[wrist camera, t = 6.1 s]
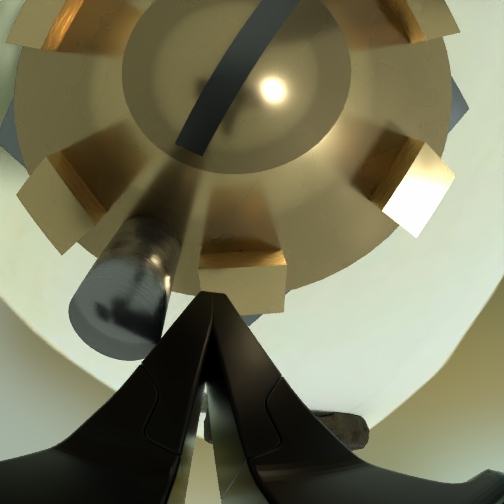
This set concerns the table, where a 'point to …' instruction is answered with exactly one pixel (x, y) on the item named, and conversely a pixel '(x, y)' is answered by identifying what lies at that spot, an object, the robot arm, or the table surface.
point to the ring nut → (225, 145)
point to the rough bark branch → (341, 425)
